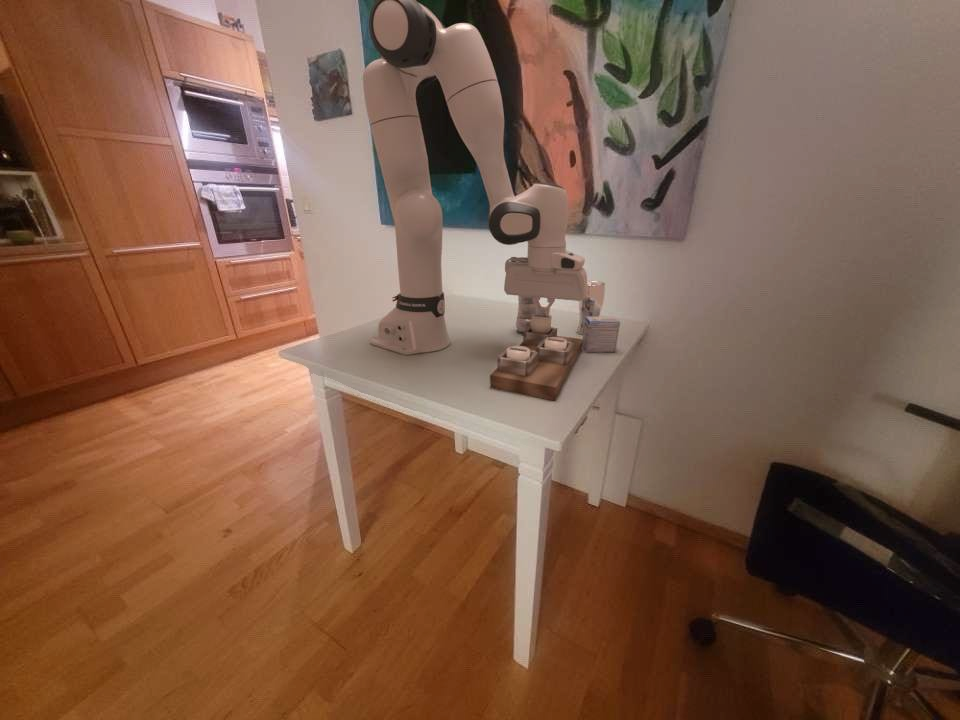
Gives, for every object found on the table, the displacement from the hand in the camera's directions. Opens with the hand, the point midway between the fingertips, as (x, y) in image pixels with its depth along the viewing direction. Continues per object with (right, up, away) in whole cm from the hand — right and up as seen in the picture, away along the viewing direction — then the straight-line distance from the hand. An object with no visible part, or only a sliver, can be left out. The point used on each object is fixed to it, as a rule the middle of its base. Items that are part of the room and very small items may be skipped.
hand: (542, 314), depth 92 cm
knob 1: (-8, -13, -12) cm, 19 cm away
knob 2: (0, -4, +2) cm, 5 cm away
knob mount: (-1, -13, -5) cm, 14 cm away
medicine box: (+16, -9, +6) cm, 19 cm away
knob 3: (+1, -11, -7) cm, 13 cm away
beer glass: (+17, -3, +18) cm, 25 cm away
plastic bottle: (-2, -3, +19) cm, 19 cm away
